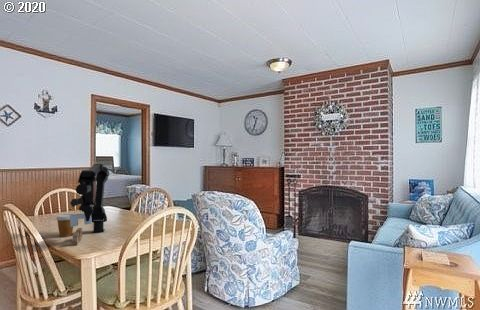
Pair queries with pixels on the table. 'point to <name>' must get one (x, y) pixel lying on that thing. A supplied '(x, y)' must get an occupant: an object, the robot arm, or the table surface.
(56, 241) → the table surface
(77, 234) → the notched wooden post
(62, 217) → the disposable coffee cup
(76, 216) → the notched blue slab
